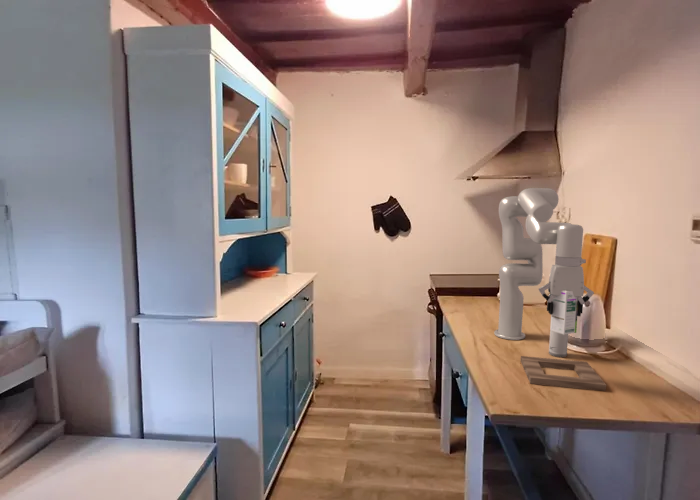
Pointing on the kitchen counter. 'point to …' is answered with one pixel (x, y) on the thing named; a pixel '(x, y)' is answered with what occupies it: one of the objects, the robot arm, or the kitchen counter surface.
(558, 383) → the hole board
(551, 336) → the travel mug
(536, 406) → the kitchen counter surface
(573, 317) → the syrup box
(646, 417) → the kitchen counter surface
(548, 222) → the robot arm
